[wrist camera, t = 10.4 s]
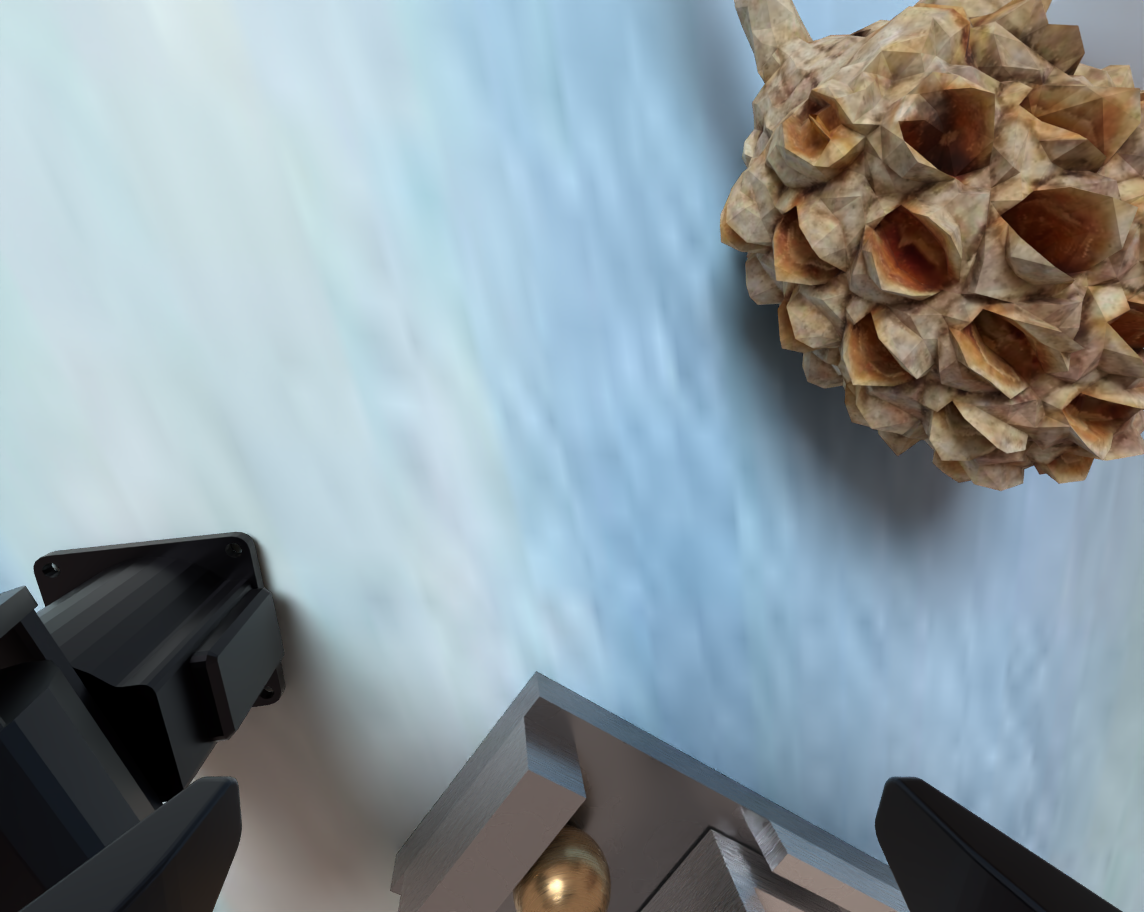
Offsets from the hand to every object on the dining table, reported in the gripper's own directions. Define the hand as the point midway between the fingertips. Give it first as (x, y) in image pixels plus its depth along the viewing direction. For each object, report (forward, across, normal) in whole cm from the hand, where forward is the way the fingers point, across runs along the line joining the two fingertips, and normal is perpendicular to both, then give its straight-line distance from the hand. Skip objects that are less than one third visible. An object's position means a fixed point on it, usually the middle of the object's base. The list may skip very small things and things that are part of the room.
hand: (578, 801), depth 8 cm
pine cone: (+14, -7, -12) cm, 20 cm away
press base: (+13, -10, +19) cm, 25 cm away
